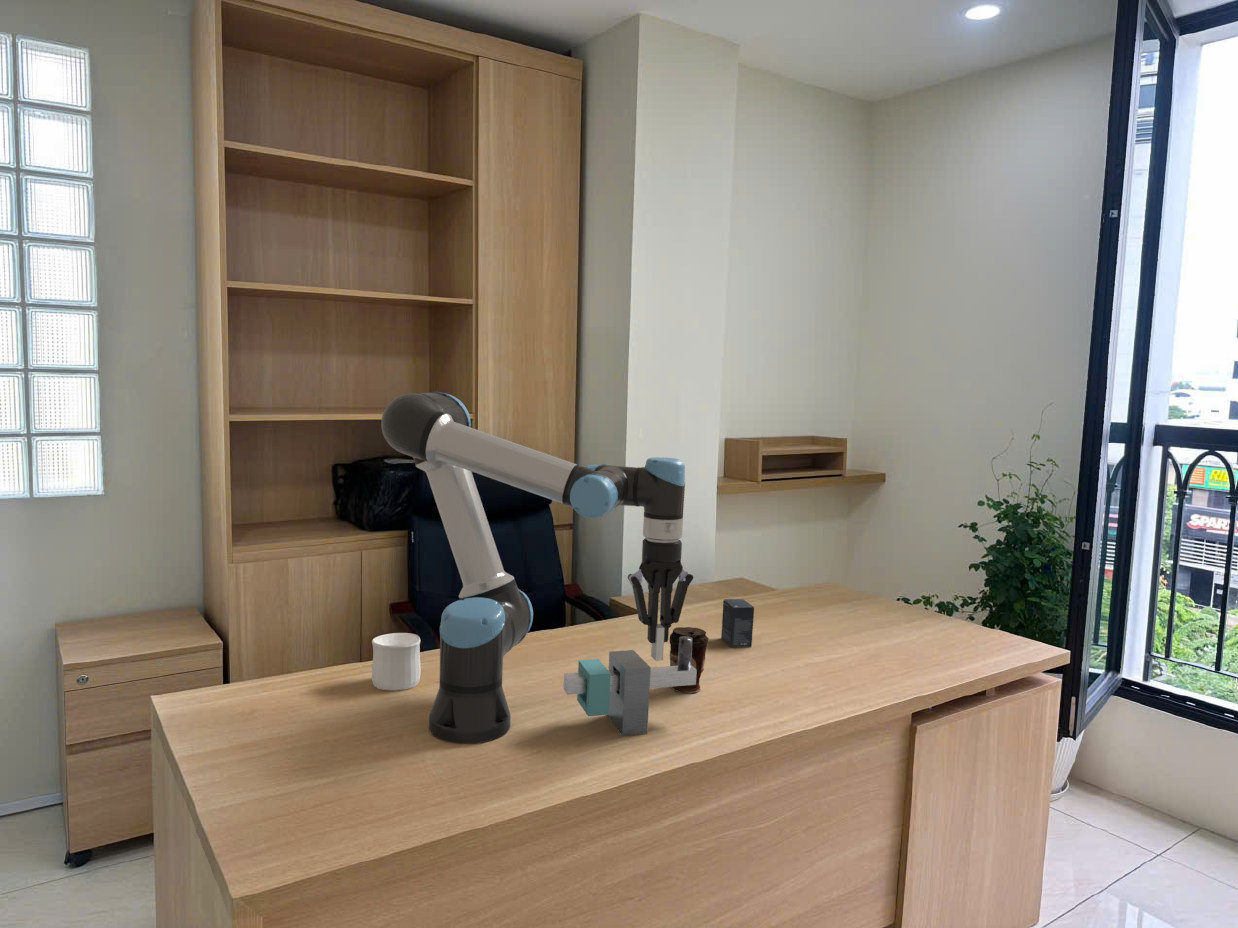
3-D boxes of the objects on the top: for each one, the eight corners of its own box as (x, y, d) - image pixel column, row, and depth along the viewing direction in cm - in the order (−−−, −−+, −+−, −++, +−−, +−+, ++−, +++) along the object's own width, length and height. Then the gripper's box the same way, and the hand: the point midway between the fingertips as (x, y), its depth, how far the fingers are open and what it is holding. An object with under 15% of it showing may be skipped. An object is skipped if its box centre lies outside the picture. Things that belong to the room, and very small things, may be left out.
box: (752, 647, 216) (754, 606, 215) (730, 648, 214) (733, 607, 213) (741, 637, 223) (743, 598, 222) (720, 638, 222) (722, 598, 221)
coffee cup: (693, 699, 180) (696, 639, 178) (659, 690, 184) (662, 631, 183) (711, 687, 187) (715, 629, 186) (678, 678, 192) (681, 622, 190)
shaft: (567, 694, 160) (569, 648, 159) (563, 688, 162) (565, 642, 161) (695, 684, 168) (698, 640, 167) (690, 679, 171) (692, 635, 170)
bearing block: (622, 736, 160) (625, 669, 159) (606, 715, 170) (609, 651, 168) (647, 733, 162) (650, 667, 160) (630, 713, 171) (633, 650, 170)
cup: (429, 684, 182) (430, 639, 181) (388, 696, 174) (388, 649, 173) (404, 672, 188) (404, 629, 187) (363, 683, 181) (363, 638, 180)
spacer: (588, 716, 159) (589, 674, 158) (577, 700, 166) (578, 660, 165) (608, 714, 160) (610, 673, 159) (596, 698, 168) (598, 659, 167)
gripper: (636, 543, 158) (631, 667, 160) (701, 542, 162) (695, 662, 164) (623, 535, 165) (619, 654, 168) (686, 534, 169) (680, 650, 172)
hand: (657, 658), depth 166 cm, fingers closed
